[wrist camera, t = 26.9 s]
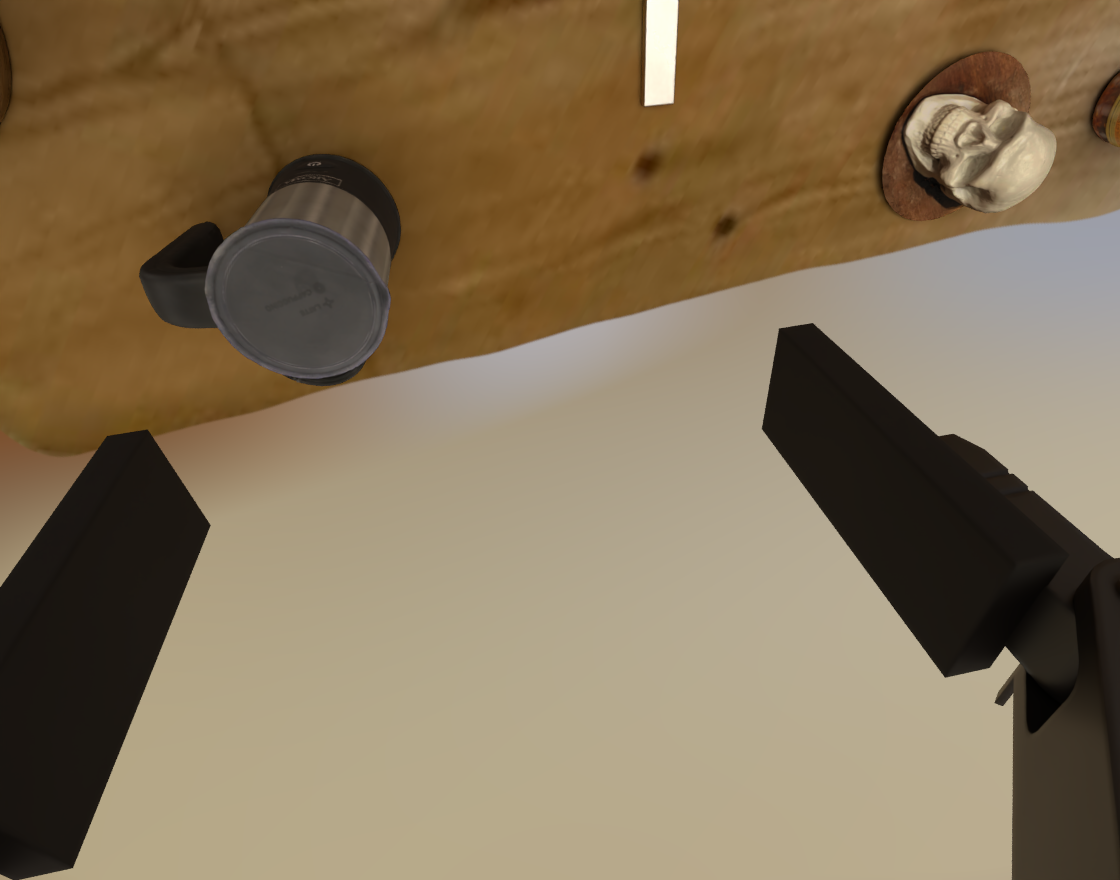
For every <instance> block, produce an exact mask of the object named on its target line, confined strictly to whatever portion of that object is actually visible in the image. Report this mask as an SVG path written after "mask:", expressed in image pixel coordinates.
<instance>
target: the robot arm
mask: <svg viewBox="0 0 1120 880" xmlns="http://www.w3.org/2000/svg"><path fill="white" fill-rule="evenodd" d="M10 92H11V68H10V61H9V55H8V51H7V46H6V42H5V39H4V36H3V33H2V30H1V27H0V123H1V121H2V120H3V118H4V115H5V113H6V110H7V108H8V103H9V99H10ZM762 430H763V431H764V432H765V434H766V435H767V436H768V438H769V439H770V441H771V442H772V443H773V445H774V446H775V447H776V449H777V450H778V451H779V453H780V454H781V455H782V457H783V458H784V460H785V461H786V462H787V464H788V465H789V466H790V468H791V469H792V470H793V472H794V473H795V474H796V476H797V477H798V479H799V480H800V481H801V483H802V484H803V485H804V487H805V488H806V489H807V491H808V492H809V493H810V495H811V496H812V498H813V499H814V500H815V502H816V503H817V504H818V506H819V507H820V508H821V510H822V511H823V512H824V514H825V515H826V517H827V518H828V519H829V521H830V522H831V523H832V525H833V526H834V527H835V529H836V530H837V531H838V533H839V534H840V536H841V537H842V538H843V540H844V541H845V542H846V544H847V545H848V546H849V548H850V549H851V551H852V552H853V553H854V555H855V556H856V557H857V559H858V560H859V561H860V563H861V564H862V565H863V567H864V568H865V569H866V571H867V572H868V573H869V575H870V576H871V578H872V579H873V580H874V582H875V583H876V584H877V586H878V587H879V589H880V590H881V591H882V593H883V594H884V595H885V597H886V598H887V599H888V601H889V602H890V603H891V605H892V606H893V607H894V609H895V610H896V612H897V613H898V614H899V615H900V617H901V618H902V620H903V621H904V622H905V624H906V625H907V627H908V628H909V629H910V631H911V632H912V633H913V634H914V636H915V637H916V639H917V640H918V641H919V643H920V644H921V645H922V647H923V648H924V650H925V651H926V652H927V654H928V655H929V656H930V658H931V659H932V660H933V662H934V663H935V665H936V666H937V667H938V669H939V670H940V671H941V673H942V674H943V675H944V677H950V676H955V675H959V674H964V673H969V672H973V671H978V670H982V669H986V668H990V666H991V665H992V664H993V662H994V661H995V660H996V658H997V657H998V655H999V654H1000V652H1001V651H1002V650H1003V648H1004V647H1005V646H1006V647H1007V648H1008V650H1009V651H1010V652H1011V653H1012V654H1013V656H1014V657H1015V658H1016V659H1017V660H1018V661H1019V662H1020V664H1019V665H1018V667H1017V668H1016V669H1015V671H1014V672H1013V673H1012V675H1011V676H1010V677H1009V679H1008V680H1007V681H1006V683H1005V684H1004V685H1003V686H1002V688H1001V689H1000V690H999V692H998V695H997V697H996V700H995V703H996V704H998V705H1001V706H1003V705H1004V704H1005V703H1006V701H1007V700H1008V699H1009V698H1010V696H1011V695H1012V694H1014V695H1013V818H1012V820H1013V821H1012V823H1013V824H1012V828H1013V829H1012V880H1120V558H1115V559H1114V558H1113V557H1111V556H1110V555H1108V554H1107V553H1106V552H1105V551H1103V550H1102V549H1101V548H1099V546H1098V545H1096V544H1095V543H1094V542H1093V541H1092V540H1090V539H1089V538H1088V537H1087V536H1086V535H1085V534H1083V533H1082V532H1081V531H1080V530H1079V529H1078V528H1076V527H1075V526H1074V525H1073V524H1072V523H1070V522H1069V521H1068V520H1067V519H1066V518H1065V517H1063V516H1062V515H1061V514H1060V513H1059V512H1058V511H1056V510H1055V509H1054V508H1053V507H1052V506H1050V505H1049V504H1048V503H1047V502H1046V501H1044V500H1043V499H1042V498H1041V497H1040V496H1039V495H1037V494H1036V493H1035V492H1034V491H1029V490H1028V486H1027V485H1026V484H1025V483H1023V482H1022V481H1021V480H1020V479H1019V478H1018V477H1016V476H1015V475H1014V474H1009V473H1008V469H1007V468H1006V467H1005V466H1003V465H1002V464H1001V463H1000V462H998V461H997V460H996V459H995V458H994V457H993V456H992V455H990V454H989V453H988V452H987V451H986V450H985V449H982V448H981V447H979V446H977V445H975V444H973V443H971V442H969V441H967V440H965V439H963V438H960V437H958V436H957V435H955V434H949V435H944V436H937V435H936V434H935V433H934V432H933V431H932V430H931V429H930V428H928V427H927V426H926V425H925V424H924V423H923V422H922V421H921V420H919V419H918V418H917V417H916V416H915V415H914V414H913V413H912V412H911V411H910V410H908V409H907V408H906V407H905V406H904V405H903V404H902V403H901V402H900V401H898V400H897V399H896V398H895V397H894V396H893V395H892V394H891V393H890V392H888V391H887V390H886V389H885V388H884V387H883V386H882V385H881V384H880V383H879V382H877V381H876V380H875V379H874V378H873V377H872V376H871V375H870V374H869V373H867V372H866V371H865V370H864V369H863V368H862V367H861V366H860V365H859V364H857V363H856V362H855V361H854V360H853V359H852V358H851V357H850V356H849V355H847V354H846V353H845V352H844V351H843V350H842V349H841V348H840V347H839V346H837V345H836V344H835V343H834V342H833V341H832V340H830V338H828V337H827V336H826V335H825V334H824V333H823V332H822V331H821V330H820V329H819V328H817V327H816V326H815V325H814V324H813V323H811V324H805V325H798V326H792V327H786V328H780V329H779V333H778V339H777V345H776V350H775V356H774V362H773V368H772V374H771V379H770V385H769V391H768V397H767V403H766V408H765V414H764V420H763V426H762ZM209 528H210V524H209V522H208V521H207V519H206V518H205V516H204V515H203V513H202V512H201V510H200V509H199V507H198V506H197V504H196V502H195V501H194V499H193V498H192V496H191V495H190V493H189V492H188V490H187V489H186V487H185V486H184V484H183V483H182V481H181V479H180V478H179V476H178V475H177V473H176V472H175V470H174V469H173V467H172V466H171V464H170V463H169V461H168V460H167V458H166V457H165V455H164V454H163V452H162V451H161V449H160V448H159V446H158V444H157V443H156V442H155V440H154V438H153V437H152V435H151V434H150V432H149V431H148V430H142V431H136V432H130V433H123V434H117V435H111V436H107V437H106V438H105V440H104V441H103V443H102V444H101V446H100V447H99V448H98V450H97V451H96V453H95V454H94V456H93V457H92V459H91V460H90V461H89V463H88V464H87V466H86V467H85V468H84V470H83V471H82V473H81V474H80V475H79V477H78V478H77V479H76V481H75V482H74V484H73V485H72V487H71V488H70V490H69V491H68V492H67V494H66V495H65V496H64V498H63V500H62V501H61V502H60V504H59V505H58V506H57V508H56V509H55V511H54V512H53V514H52V515H51V516H50V518H49V519H48V521H47V522H46V523H45V525H44V526H43V528H42V529H41V531H40V532H39V533H38V535H37V536H36V538H35V539H34V540H33V542H32V543H31V545H30V546H29V547H28V549H27V550H26V552H25V553H24V555H23V556H22V557H21V559H20V560H19V562H18V563H17V564H16V566H15V567H14V569H13V570H12V572H11V573H10V574H9V576H8V577H7V579H6V580H5V582H4V583H3V584H2V586H1V587H0V874H1V875H3V876H6V877H8V878H10V879H12V880H20V879H25V878H29V877H34V876H38V875H43V874H48V873H52V872H57V871H62V870H66V869H71V868H73V866H74V864H75V861H76V859H77V856H78V854H79V851H80V849H81V846H82V844H83V841H84V839H85V836H86V834H87V832H88V829H89V826H90V824H91V822H92V819H93V817H94V814H95V812H96V809H97V806H98V804H99V802H100V799H101V797H102V794H103V792H104V789H105V787H106V784H107V782H108V779H109V777H110V774H111V771H112V769H113V767H114V764H115V762H116V759H117V757H118V754H119V752H120V749H121V747H122V744H123V742H124V739H125V737H126V734H127V732H128V729H129V727H130V724H131V722H132V719H133V717H134V714H135V712H136V710H137V707H138V705H139V702H140V700H141V697H142V695H143V692H144V690H145V687H146V685H147V682H148V680H149V677H150V675H151V672H152V670H153V667H154V665H155V662H156V660H157V657H158V655H159V652H160V650H161V647H162V645H163V642H164V640H165V637H166V635H167V632H168V630H169V627H170V625H171V623H172V620H173V617H174V615H175V612H176V610H177V607H178V605H179V603H180V600H181V598H182V595H183V593H184V590H185V588H186V585H187V582H188V580H189V578H190V575H191V573H192V570H193V568H194V565H195V563H196V560H197V558H198V555H199V553H200V550H201V548H202V545H203V543H204V540H205V538H206V535H207V533H208V530H209Z"/></svg>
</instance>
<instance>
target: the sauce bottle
mask: <svg viewBox="0 0 1120 880" xmlns="http://www.w3.org/2000/svg"><path fill="white" fill-rule="evenodd" d="M1092 125H1093V128H1094V131H1095V132H1096V134H1097V135H1098V137H1100V138H1102V139H1103V141H1105V142H1108V143H1111V144H1112V145H1114V146H1117V147H1120V73H1118V74H1117V75H1116V76H1115V77H1114V78H1113V79H1112V80H1111V82H1110V83H1109V84H1108V86H1107V87H1106V89H1105V90H1104V92H1103V93H1102V95H1101V97H1100V99H1099V101H1098V103H1097V105H1096V107H1095V111H1094V114H1093V121H1092Z"/></svg>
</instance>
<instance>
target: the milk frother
mask: <svg viewBox="0 0 1120 880" xmlns="http://www.w3.org/2000/svg"><path fill="white" fill-rule="evenodd" d="M400 234H401V226H400V218H399V213H398V210H397V207H396V204H395V202H394V200H393V198H392V196H391V195H390V193H389V191H388V190H387V188H386V187H385V185H384V184H383V183H382V182H381V181H380V180H379V179H378V178H377V177H376V176H375V175H374V174H373V173H372V172H370V171H369V170H368V169H366V168H365V167H364V166H362V165H360V164H358V163H356V162H354V161H352V160H350V159H346V158H344V157H341V156H336V155H329V154H317V155H309V156H305V157H301V158H299V159H297V160H295V161H293V162H291V163H290V164H288V165H286V166H285V167H284V168H283V169H282V170H281V171H280V172H279V173H278V174H277V176H276V177H275V178H274V180H273V182H272V184H271V186H270V188H269V191H268V195H267V198H266V199H265V201H264V202H263V203H262V204H261V205H260V207H259V208H258V209H257V211H256V212H255V213H254V214H253V216H252V217H251V218H250V220H249V221H248V222H247V224H246V225H245V226H244V227H241V228H240V229H238V230H237V231H235V232H234V233H232V234H231V235H230V236H228V237H227V238H226V239H225V240H223V237H222V235H221V232H220V229H219V228H218V227H217V226H216V225H215V224H214V223H211V222H205V223H200V224H197V225H194V226H192V227H191V228H190V229H188V230H187V231H186V232H184V233H183V234H182V235H180V236H179V237H178V238H177V239H175V240H174V241H173V242H171V243H170V244H169V245H167V246H166V247H165V248H163V249H162V250H161V251H160V252H159V253H157V254H156V255H154V256H153V257H152V258H150V259H149V260H148V261H146V262H145V263H144V264H143V265H142V267H141V269H140V273H139V277H140V279H141V283H142V285H143V288H144V290H145V293H146V295H147V297H148V299H149V301H150V303H151V305H152V307H153V308H154V310H155V312H156V313H157V314H158V315H159V317H160V318H161V319H162V320H164V321H165V322H167V323H170V324H172V325H175V326H179V327H185V328H219V330H220V331H221V333H222V334H223V335H224V336H225V338H226V339H227V340H228V341H229V342H230V344H231V345H232V346H233V347H234V348H236V349H237V350H238V351H239V352H240V353H241V354H243V355H244V356H245V357H247V358H248V359H251V360H252V361H254V362H256V363H258V364H259V365H260V366H263V367H265V368H267V369H269V370H271V371H274V372H277V373H279V374H282V375H284V376H286V377H288V378H290V379H292V380H295V381H297V382H300V383H305V384H308V385H316V386H330V385H336V384H340V383H343V382H345V381H347V380H349V379H351V378H352V377H354V376H355V375H356V374H357V373H358V372H359V371H360V369H361V368H362V367H363V365H364V363H365V361H366V360H367V359H368V358H369V357H370V356H371V355H372V354H373V353H374V351H375V350H376V349H377V348H378V346H379V344H380V342H381V341H382V339H383V336H384V334H385V330H386V327H387V322H388V312H389V309H390V302H391V297H390V293H389V290H388V287H387V286H388V279H389V272H390V267H391V261H392V259H393V257H394V255H395V253H396V250H397V248H398V245H399V241H400Z"/></svg>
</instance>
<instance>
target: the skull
mask: <svg viewBox="0 0 1120 880" xmlns="http://www.w3.org/2000/svg"><path fill="white" fill-rule="evenodd" d="M984 55H985V56H984ZM1029 108H1030V84H1029V78H1028V76H1027V73H1026V71H1025V70H1024V68H1023V66H1022V65H1021V63H1020V62H1018V61H1017V60H1016V59H1015V58H1014V57H1012V56H1010V55H1008V54H1005V53H1001V52H982V53H978V54H974V55H972V56H968V57H966V58H965V59H960V60H959V61H958V62H956V63H954V64H953V65H951V66H949V67H947V68H946V69H945V70H944V71H942V72H941V73H940V74H938V75H937V76H936V77H935V78H934V79H932V80H931V81H930V82H929V83H928V84H927V85H926V86H925V87H924V88H923V89H922V90H921V91H920V92H919V93H918V95H917V96H916V97H915V98H914V99H913V100H912V101H911V103H910V104H909V105H908V106H907V108H906V109H905V110H904V113H903V115H902V116H901V117H900V119H899V121H898V122H897V124H896V126H895V130H894V131H893V133H892V135H891V139H890V141H889V143H888V146H887V151H886V155H885V157H884V163H883V170H882V173H883V175H882V178H883V179H882V180H883V182H882V183H883V187H882V188H883V191H884V193H885V197H886V199H887V201H888V204H889V205H890V206H891V207H892V209H893V210H894V211H895V212H896V213H898V214H899V215H901V216H903V217H905V218H907V219H910V220H917V221H924V220H932V219H935V218H940V217H943V216H945V215H947V214H950V213H952V212H954V211H956V210H958V209H959V208H961V207H963V206H966V207H969V208H971V209H974V210H976V211H980V212H983V213H996V212H1000V211H1004V210H1006V209H1008V208H1010V207H1012V206H1014V205H1016V204H1017V203H1019V202H1021V201H1022V200H1024V199H1025V198H1027V197H1028V196H1029V195H1031V194H1032V193H1033V192H1034V191H1035V190H1036V189H1037V188H1038V187H1039V186H1040V184H1041V183H1042V182H1043V180H1044V179H1045V177H1046V176H1047V174H1048V172H1049V170H1050V168H1051V166H1052V163H1053V160H1054V158H1055V153H1056V138H1055V136H1054V134H1053V133H1052V131H1051V130H1049V129H1048V128H1046V127H1044V126H1043V125H1041V124H1038V123H1036V122H1035V121H1034V120H1033V119H1032V118H1031V116H1030V115H1029Z"/></svg>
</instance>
